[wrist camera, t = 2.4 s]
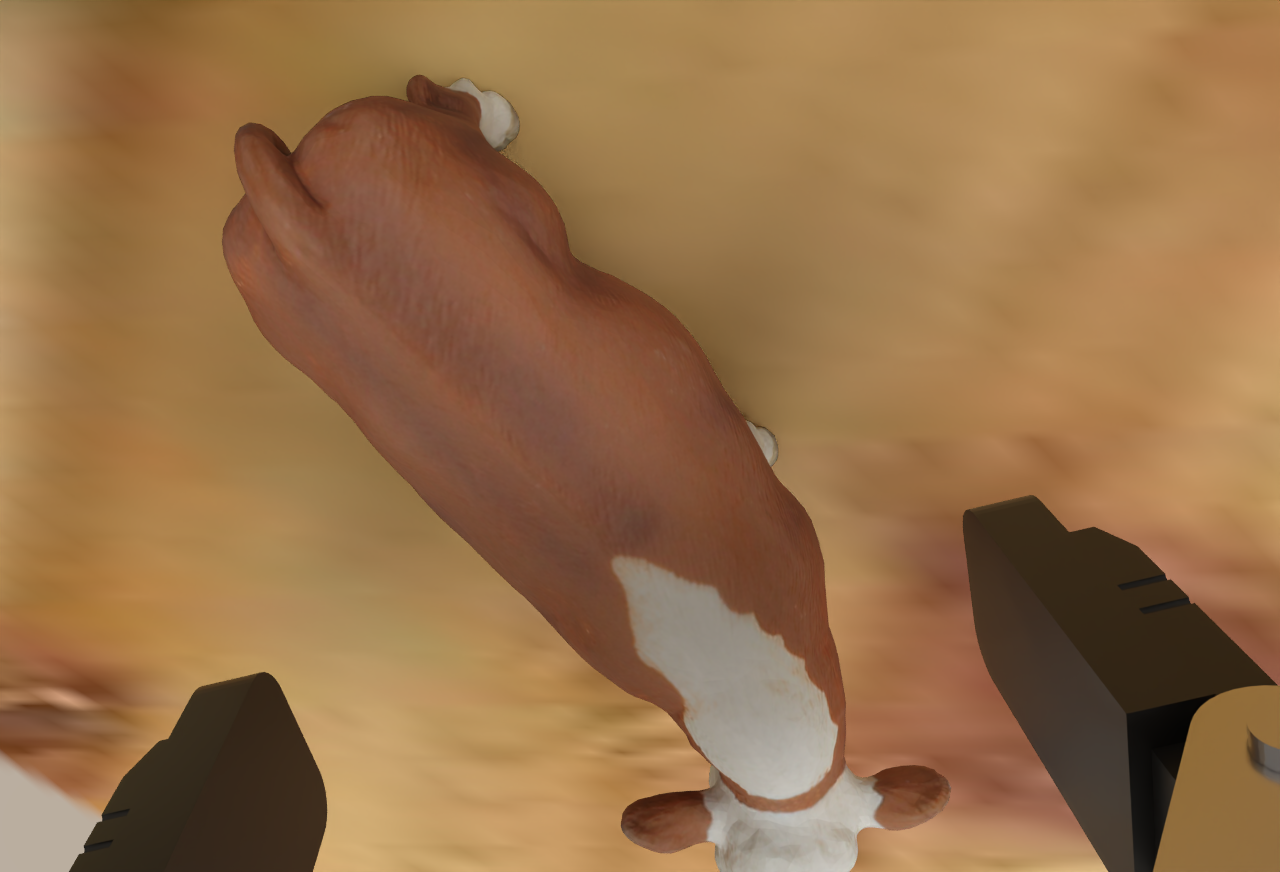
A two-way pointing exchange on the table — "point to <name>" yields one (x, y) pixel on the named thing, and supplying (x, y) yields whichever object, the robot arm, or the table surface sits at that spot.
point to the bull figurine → (569, 454)
